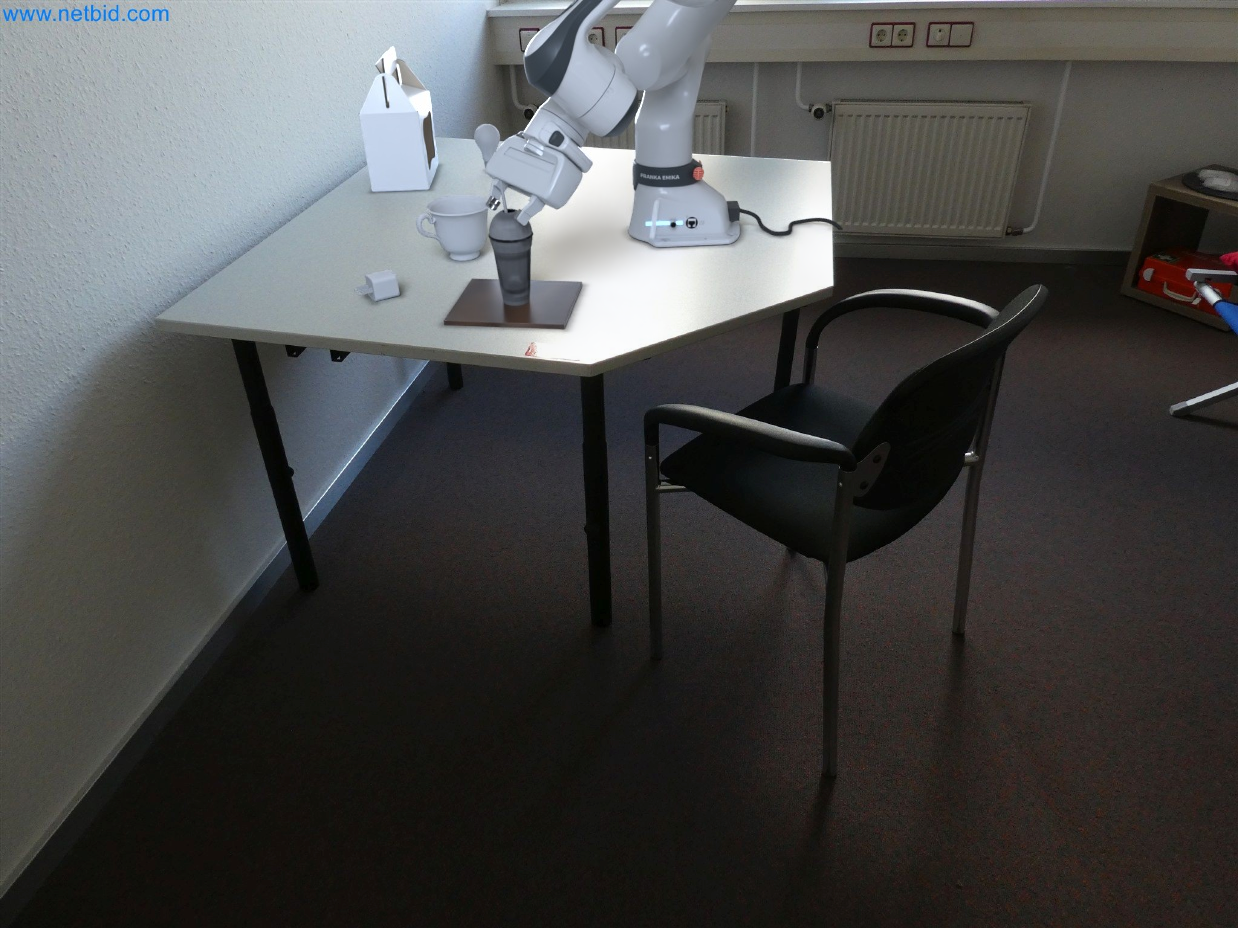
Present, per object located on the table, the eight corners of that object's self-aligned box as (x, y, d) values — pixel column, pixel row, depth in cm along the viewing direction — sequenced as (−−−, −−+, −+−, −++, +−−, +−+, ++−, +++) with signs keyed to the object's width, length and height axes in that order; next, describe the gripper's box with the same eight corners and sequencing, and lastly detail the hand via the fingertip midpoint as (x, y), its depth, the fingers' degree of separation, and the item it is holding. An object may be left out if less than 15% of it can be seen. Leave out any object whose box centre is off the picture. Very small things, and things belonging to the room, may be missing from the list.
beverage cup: (520, 312, 149) (510, 192, 138) (486, 303, 152) (473, 185, 141) (546, 297, 154) (538, 179, 143) (512, 288, 157) (502, 173, 146)
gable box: (386, 166, 227) (366, 45, 212) (439, 164, 228) (423, 43, 212) (371, 192, 209) (349, 62, 193) (429, 190, 209) (411, 60, 194)
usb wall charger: (400, 297, 158) (396, 275, 155) (361, 306, 155) (357, 284, 152) (391, 289, 160) (388, 268, 158) (354, 298, 157) (349, 277, 155)
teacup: (408, 258, 173) (400, 206, 168) (476, 240, 181) (470, 190, 175) (438, 276, 165) (430, 222, 160) (507, 256, 173) (503, 205, 167)
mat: (582, 285, 160) (582, 281, 160) (564, 329, 145) (564, 324, 145) (472, 282, 162) (471, 278, 162) (444, 325, 148) (443, 320, 147)
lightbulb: (501, 174, 219) (497, 127, 213) (476, 174, 219) (471, 127, 213) (504, 167, 224) (500, 121, 218) (479, 167, 224) (475, 121, 218)
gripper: (505, 118, 149) (459, 189, 150) (574, 142, 135) (523, 220, 136) (530, 141, 154) (485, 210, 154) (599, 167, 140) (550, 242, 140)
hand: (503, 215), depth 145 cm, fingers open, 8 cm apart
